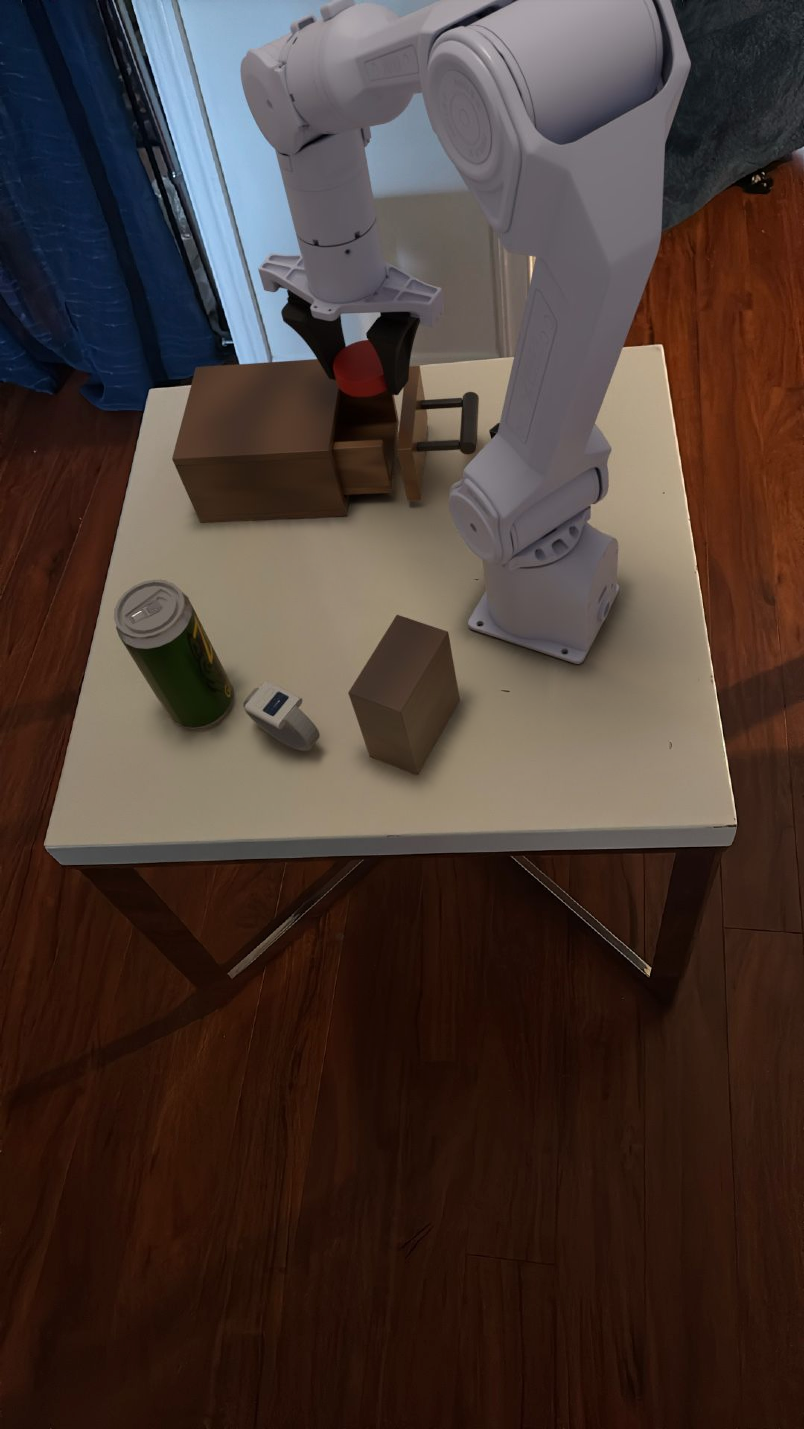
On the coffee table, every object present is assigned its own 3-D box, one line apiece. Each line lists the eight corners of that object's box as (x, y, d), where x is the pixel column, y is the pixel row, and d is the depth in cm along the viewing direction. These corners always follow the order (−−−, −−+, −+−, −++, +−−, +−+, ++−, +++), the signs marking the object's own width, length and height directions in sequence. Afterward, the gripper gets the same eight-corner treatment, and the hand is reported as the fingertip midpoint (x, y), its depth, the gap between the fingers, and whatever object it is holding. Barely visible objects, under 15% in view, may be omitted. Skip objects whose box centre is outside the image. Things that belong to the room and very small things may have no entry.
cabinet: (358, 425, 95) (343, 356, 88) (346, 516, 89) (328, 450, 82) (220, 433, 97) (195, 366, 90) (199, 522, 91) (171, 458, 85)
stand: (460, 699, 77) (448, 631, 70) (417, 775, 74) (400, 712, 67) (412, 682, 79) (396, 614, 72) (369, 756, 76) (347, 692, 69)
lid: (409, 361, 83) (406, 346, 82) (379, 403, 81) (376, 387, 80) (355, 349, 85) (351, 334, 83) (325, 389, 83) (321, 374, 81)
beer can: (187, 745, 79) (130, 653, 69) (156, 698, 81) (97, 603, 71) (248, 707, 80) (200, 612, 70) (216, 663, 82) (166, 564, 72)
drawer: (482, 414, 92) (477, 361, 87) (479, 497, 87) (473, 445, 82) (297, 425, 94) (281, 374, 90) (282, 506, 89) (265, 456, 84)
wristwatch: (246, 733, 78) (227, 698, 74) (268, 707, 79) (251, 670, 75) (310, 770, 76) (294, 735, 72) (332, 741, 77) (318, 705, 73)
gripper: (218, 238, 73) (267, 391, 84) (400, 275, 68) (426, 433, 79) (270, 181, 76) (310, 336, 87) (448, 212, 70) (466, 373, 82)
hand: (368, 379), depth 83 cm, fingers closed on lid, 5 cm apart
